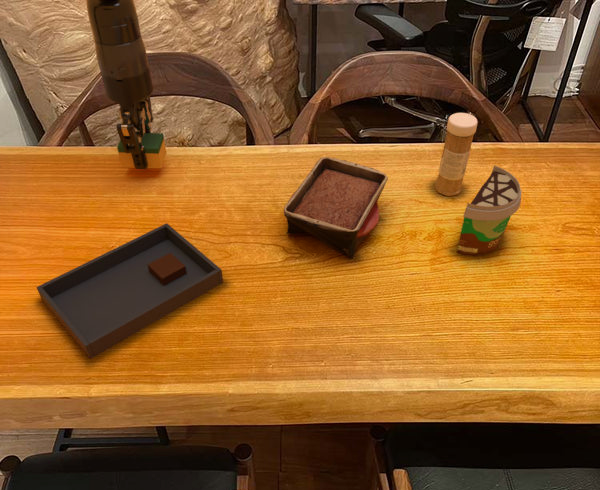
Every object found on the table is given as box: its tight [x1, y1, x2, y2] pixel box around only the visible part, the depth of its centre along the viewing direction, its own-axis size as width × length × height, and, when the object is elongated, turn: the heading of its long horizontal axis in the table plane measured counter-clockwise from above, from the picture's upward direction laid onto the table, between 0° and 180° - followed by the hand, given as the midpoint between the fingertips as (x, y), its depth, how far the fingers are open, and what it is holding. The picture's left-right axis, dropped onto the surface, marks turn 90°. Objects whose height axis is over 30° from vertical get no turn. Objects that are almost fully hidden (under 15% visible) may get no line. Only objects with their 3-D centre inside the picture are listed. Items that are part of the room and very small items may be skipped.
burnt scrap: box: [148, 253, 187, 286], centre depth 86 cm, size 4×4×2 cm
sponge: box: [116, 132, 167, 169], centre depth 103 cm, size 7×5×4 cm
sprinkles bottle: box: [435, 112, 479, 197], centre depth 97 cm, size 5×5×14 cm
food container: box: [456, 165, 522, 257], centre depth 88 cm, size 12×6×10 cm, turn 148°
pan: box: [35, 222, 224, 359], centre depth 83 cm, size 21×14×3 cm
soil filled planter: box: [283, 156, 389, 259], centre depth 92 cm, size 14×18×10 cm
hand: (144, 158), depth 104 cm, fingers closed on sponge, 5 cm apart
